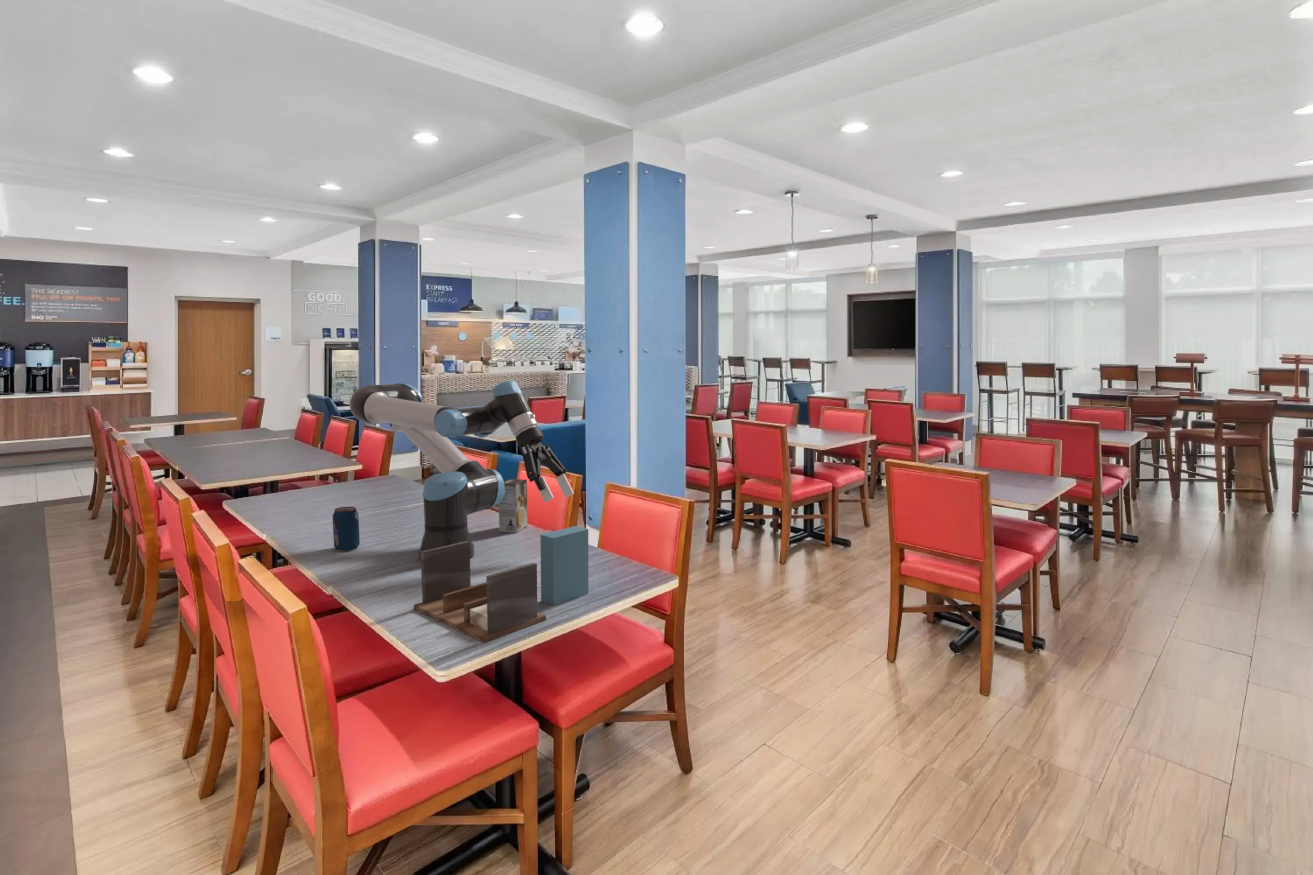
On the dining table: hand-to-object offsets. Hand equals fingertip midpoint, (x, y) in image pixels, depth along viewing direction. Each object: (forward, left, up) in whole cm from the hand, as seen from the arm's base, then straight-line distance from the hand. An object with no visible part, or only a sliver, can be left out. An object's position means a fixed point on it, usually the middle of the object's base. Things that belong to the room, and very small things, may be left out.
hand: (560, 498), depth 191 cm
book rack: (+7, -43, -18) cm, 47 cm away
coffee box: (-32, +20, -18) cm, 42 cm away
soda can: (-61, -21, -18) cm, 67 cm away
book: (+18, -25, -18) cm, 35 cm away
